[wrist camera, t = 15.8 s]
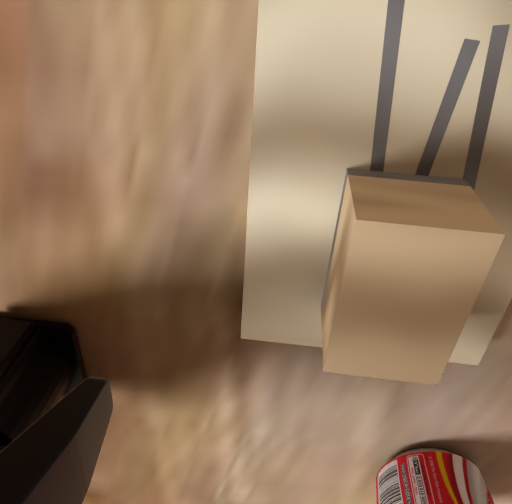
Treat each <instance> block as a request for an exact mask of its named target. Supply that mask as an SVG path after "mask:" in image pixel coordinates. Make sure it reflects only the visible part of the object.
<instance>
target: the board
mask: <svg viewBox="0 0 512 504" xmlns="http://www.w3.org/2000/svg"><path fill="white" fill-rule="evenodd" d="M347 168H348V169H359V170H369V171H380V172H391V173H401V174H412V175H423V176H433V177H444V178H454V179H465V180H466V181H467V182H468V183H469V185H470V186H471V188H472V189H473V190H474V192H475V193H476V195H477V196H478V197H479V199H480V200H481V201H482V203H483V204H484V206H485V207H486V208H487V210H488V211H489V213H490V214H491V215H492V217H493V218H494V220H495V221H496V222H497V224H498V225H499V226H500V228H501V229H502V231H503V232H504V233H505V236H504V239H503V241H502V243H501V245H500V248H499V250H498V252H497V254H496V256H495V259H494V261H493V263H492V265H491V268H490V270H489V272H488V274H487V276H486V279H485V281H484V283H483V285H482V288H481V290H480V292H479V294H478V297H477V299H476V301H475V303H474V305H473V308H472V310H471V312H470V314H469V317H468V319H467V321H466V323H465V325H464V328H463V330H462V332H461V334H460V337H459V339H458V341H457V343H456V346H455V348H454V350H453V352H452V354H451V357H450V359H449V361H448V362H451V363H460V364H469V365H478V364H479V362H480V360H481V359H482V357H483V355H484V353H485V351H486V349H487V347H488V345H489V343H490V341H491V339H492V337H493V335H494V333H495V331H496V329H497V327H498V325H499V323H500V321H501V319H502V317H503V315H504V313H505V311H506V309H507V307H508V305H509V303H510V301H511V300H512V0H259V8H258V27H257V45H256V64H255V82H254V100H253V119H252V137H251V156H250V174H249V193H248V211H247V230H246V248H245V267H244V285H243V304H242V322H241V339H250V340H259V341H267V342H276V343H285V344H294V345H302V346H311V347H320V348H322V325H321V302H322V297H323V291H324V286H325V281H326V276H327V270H328V265H329V260H330V254H331V249H332V244H333V238H334V233H335V228H336V222H337V217H338V212H339V207H340V201H341V196H342V191H343V185H344V180H345V175H346V169H347Z"/></svg>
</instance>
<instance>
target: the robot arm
mask: <svg viewBox="0 0 512 504" xmlns="http://www.w3.org/2000/svg"><path fill="white" fill-rule="evenodd" d="M112 409H113V401H112V394H111V387H110V382H109V380H108V379H106V378H101V377H93V376H90V377H87V378H86V374H85V370H84V365H83V361H82V357H81V353H80V349H79V345H78V341H77V337H76V332H75V330H74V328H73V327H72V326H70V325H68V324H64V323H55V322H46V321H37V320H29V319H20V318H11V317H3V316H0V504H82V503H83V500H84V498H85V495H86V493H87V490H88V487H89V484H90V481H91V478H92V475H93V472H94V469H95V466H96V462H97V459H98V456H99V453H100V450H101V446H102V443H103V440H104V437H105V434H106V430H107V427H108V424H109V421H110V417H111V414H112Z"/></svg>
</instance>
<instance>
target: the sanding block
mask: <svg viewBox="0 0 512 504" xmlns="http://www.w3.org/2000/svg"><path fill="white" fill-rule="evenodd" d="M504 236H505V233H504V232H503V231H502V229H501V228H500V226H499V225H498V224H497V222H496V221H495V220H494V218H493V217H492V215H491V214H490V213H489V211H488V210H487V208H486V207H485V206H484V204H483V203H482V201H481V200H480V199H479V197H478V196H477V195H476V193H475V192H474V190H473V189H472V188H471V186H470V185H469V183H468V182H467V181H466V180H465V179H454V178H444V177H433V176H423V175H412V174H401V173H391V172H380V171H369V170H359V169H348V168H347V169H346V175H345V180H344V185H343V191H342V196H341V201H340V207H339V212H338V217H337V222H336V228H335V233H334V238H333V244H332V249H331V254H330V260H329V265H328V270H327V276H326V281H325V286H324V291H323V297H322V302H321V325H322V352H323V372H328V373H337V374H345V375H354V376H362V377H371V378H379V379H388V380H397V381H405V382H414V383H422V384H431V385H438V383H439V381H440V379H441V377H442V374H443V372H444V370H445V368H446V366H447V363H448V361H449V359H450V357H451V354H452V352H453V350H454V348H455V346H456V343H457V341H458V339H459V337H460V334H461V332H462V330H463V328H464V325H465V323H466V321H467V319H468V317H469V314H470V312H471V310H472V308H473V305H474V303H475V301H476V299H477V297H478V294H479V292H480V290H481V288H482V285H483V283H484V281H485V279H486V276H487V274H488V272H489V270H490V268H491V265H492V263H493V261H494V259H495V256H496V254H497V252H498V250H499V248H500V245H501V243H502V241H503V239H504Z"/></svg>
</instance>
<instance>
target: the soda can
mask: <svg viewBox="0 0 512 504" xmlns="http://www.w3.org/2000/svg"><path fill="white" fill-rule="evenodd" d="M376 490H377V504H494V502H493V500H492V497H491V495H490V492H489V490H488V488H487V486H486V484H485V481H484V479H483V477H482V475H481V472H480V471H479V469H478V467H477V466H476V465H475V464H474V463H472V462H471V461H469V460H468V459H465V458H463V457H461V456H459V455H456V454H453V453H451V452H448V451H445V450H441V449H435V448H419V449H413V450H408V451H406V452H403V453H401V454H399V455H397V456H396V457H394V458H393V459H392V460H390V461H389V462H387V463H386V464H385V465H384V466H383V467H381V469H380V470H379V472H378V474H377V477H376Z"/></svg>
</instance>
